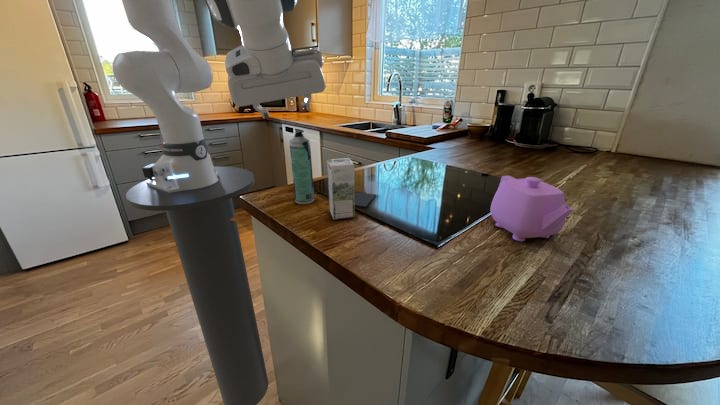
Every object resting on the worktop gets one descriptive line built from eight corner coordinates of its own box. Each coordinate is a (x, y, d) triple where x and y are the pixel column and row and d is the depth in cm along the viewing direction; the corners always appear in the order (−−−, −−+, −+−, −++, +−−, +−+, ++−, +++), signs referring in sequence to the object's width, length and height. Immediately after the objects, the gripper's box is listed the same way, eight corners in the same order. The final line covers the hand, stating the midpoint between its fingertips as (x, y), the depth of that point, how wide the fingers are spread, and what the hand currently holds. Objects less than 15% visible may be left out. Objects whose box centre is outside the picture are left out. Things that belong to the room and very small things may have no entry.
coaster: (336, 203, 84) (336, 202, 84) (348, 192, 92) (348, 191, 92) (365, 208, 81) (365, 206, 81) (375, 196, 89) (375, 194, 89)
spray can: (317, 198, 88) (312, 129, 80) (309, 205, 83) (303, 133, 75) (301, 196, 90) (294, 128, 82) (291, 203, 85) (284, 132, 77)
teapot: (474, 214, 77) (481, 167, 72) (516, 210, 79) (527, 164, 74) (529, 258, 59) (545, 199, 54) (582, 250, 61) (602, 193, 56)
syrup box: (350, 208, 81) (348, 156, 75) (355, 218, 76) (354, 163, 70) (329, 211, 80) (326, 158, 74) (333, 221, 74) (330, 165, 68)
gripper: (318, 39, 62) (327, 97, 73) (218, 55, 60) (242, 112, 71) (323, 53, 58) (331, 112, 69) (217, 70, 56) (243, 129, 67)
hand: (286, 113), depth 70 cm, fingers open, 8 cm apart
